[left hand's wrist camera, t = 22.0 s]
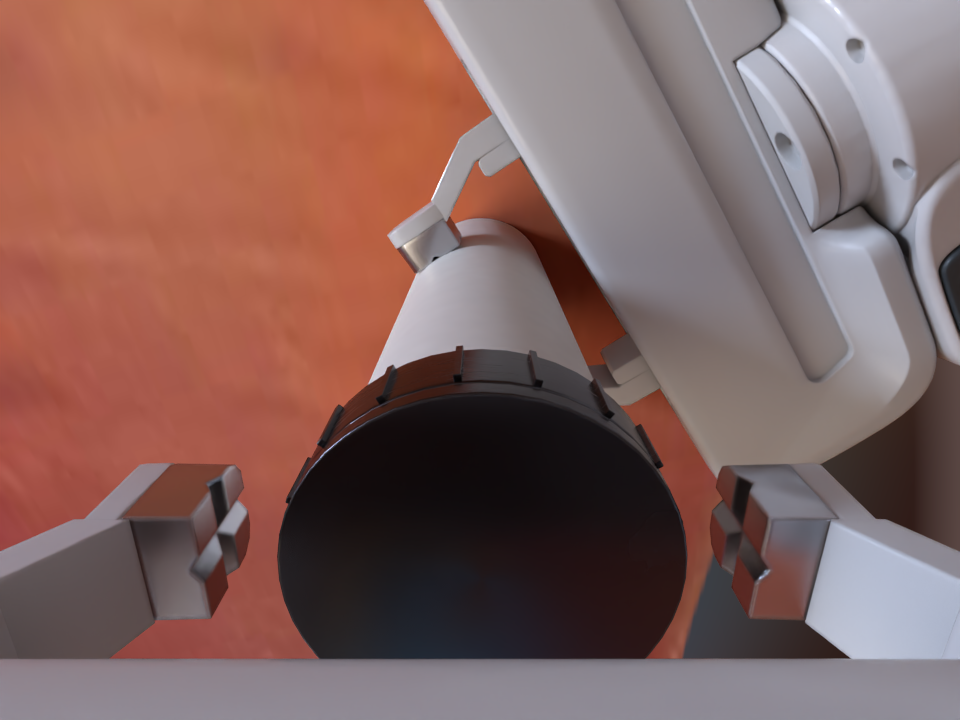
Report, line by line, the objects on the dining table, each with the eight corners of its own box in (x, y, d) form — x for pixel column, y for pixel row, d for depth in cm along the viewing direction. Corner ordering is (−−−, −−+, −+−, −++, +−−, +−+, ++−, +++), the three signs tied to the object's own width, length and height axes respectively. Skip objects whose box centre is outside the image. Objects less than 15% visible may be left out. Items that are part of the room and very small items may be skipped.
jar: (414, 329, 26) (311, 648, 10) (426, 210, 24) (322, 368, 8) (531, 344, 26) (609, 678, 10) (552, 226, 24) (684, 412, 8)
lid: (337, 300, 9) (305, 336, 7) (716, 394, 9) (764, 447, 8) (280, 607, 11) (247, 687, 9) (594, 669, 11) (612, 756, 10)
